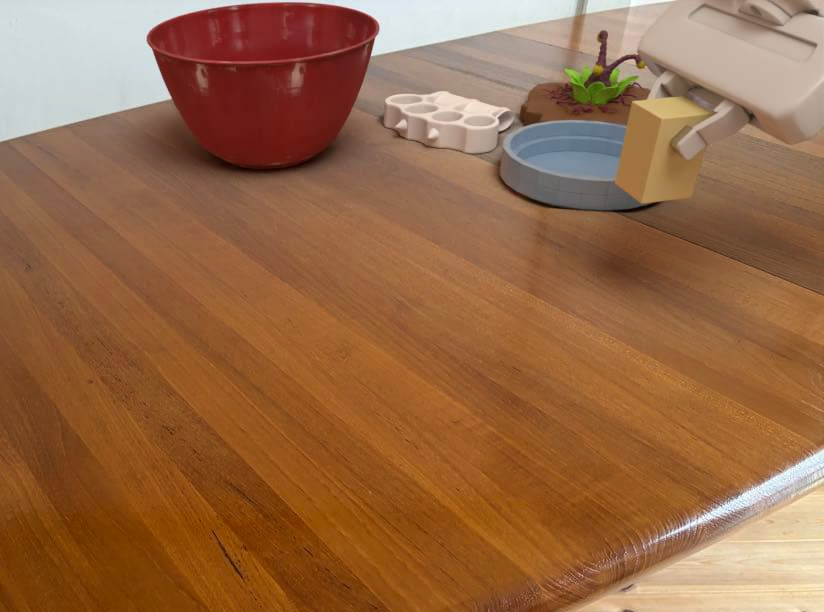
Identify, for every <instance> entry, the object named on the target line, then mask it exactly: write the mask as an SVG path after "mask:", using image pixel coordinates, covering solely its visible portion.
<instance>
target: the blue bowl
mask: <svg viewBox="0 0 824 612" xmlns="http://www.w3.org/2000/svg"><path fill="white" fill-rule="evenodd" d="M626 128H627V126H625V125H620V124H615V123H607V122H599V121H585V120H561V121H549V122H542V123H535V124H531V125H528V126H521V127H519V128H517V129H515V130H513V131H511V132H509V133H508V134H507V136H506V137H505V138H504V140H503V143H502V150H501V157H500V162H499V163H500V165H499V176H500V177H501V179H502V181H503V182H504V183H505V185H507V186H508V187H510V188H511V189H512V190H513V191H515V192H517V193H519V194H521V195H522V196H524V197H526V198H528V199H530V200H533V201H536V202H538V203H541V204H544V205H547V206H552V207H556V208H561V209H567V210H572V211H585V212H587V211H589V212H619V211H626V210H633V209H636V208H640V207H645V206H649V205H651V204H653V203H654V202H652V203H644V204H641V203H640V202H639V201H637V200H636V199H635V198H633V197H632V196H631V195H629V194H628V193H627V192H626V191H624V190H623V189H622V188H620V187H619V186H618V185H616V184H615V179H616V175H617V170H618V165H619V161H620V156H621V151H622V147H623V142H624V137H625V133H626Z"/></svg>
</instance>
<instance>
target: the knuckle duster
mask: <svg viewBox="0 0 824 612" xmlns="http://www.w3.org/2000/svg"><path fill="white" fill-rule="evenodd" d="M383 105H384V107H383V108H384V109H383V126H384V127H385V128H386V129H392V130H394V131H396V132H397V133H399V134H398V135H399V136H400V137H402V138H404V139H406V140H409V141H414V142H419V143H421V144H423V145H424V146H425V147H431V148H435V149H436V148H437V149H449V150H455V151H458V152H459V151H460V152H462V153H464V154H469V155H470V154H471V155H473V154H474V155H476V154H477V155H478V154H486V153H489V152H492V151H493V150H495V149H496V147H497V145H498V137H499V133H500V132H502V131H505V130H506V129H508V128H509V127H510V126H511V125H512V124H513V122H514V120H515V112H514V111H513V110H511V109H510V108H509V107H505V106H501V107H500V106H496V105H492V104H489V103H485V102H482V101H480V100H478V99H476V98H467V97H464V96H460V95H456V94H453V93H450V92H449V91H447V90H441V91H440V90H439V91H435V92H431V93H430V94H417V93H416V94H415V93H399V94H393V95H390V96H387V98H386V99H384V104H383Z"/></svg>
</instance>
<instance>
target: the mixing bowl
mask: <svg viewBox="0 0 824 612" xmlns="http://www.w3.org/2000/svg"><path fill="white" fill-rule="evenodd" d="M380 29H381V28H380V23H379V22H378V21H377V19H376V18H374V17H373V16H372V15H370V14H368V13H366V12H363V11H360V10H358V9H355V8H350V7H347V6H342V5H336V4H327V3H319V2H308V1H307V2H303V1H273V2H256V3H255V2H254V3H253V2H252V3H243V4H234V5H226V6H217V7H211V8H207V9H202V10H196V11H193V12H188V13H184V14H180V15H177V16H174V17H172V18H169V19H167V20H164V21H162V22H161V23H158V24H157V25H155V26H153V27H152V28H151V29H150V30H149V32H148V33H147V35H146V43H147V45H148V46H149V47H150V49H151V50H152V53H153V56H154V59H155V61H156V64H157V68H158V70H159V72H160V75H161V78H162V81H163V82H164V85H165V87H166V89H167V91H168V94H169V96H170V98H171V100H172V102H173V103H174V106H175V108H176V109H177V111H178V113H179V114H180V117H181V119H182V120H183V121H184V123H185V125H186V126H187V127H188V129H189V131H190V132H191V134H192V136H194V138H195V139H196V141H197V142H198V143H199V144H200V146H201V147H203V148H204V149H205V150H206V151H208V152H209V153H211V154H212V155H214V156H216V157H217V158H219V159H222V160H223V161H224V162H226V163H229V164H230V165H233V166H236V167H239V168H245V169H246V168H247V169H257V170H258V169H259V170H270V169H282V168H288V167H293V166H296V165H299V164H300V165H301V164H303V163H305V162H308V161H310V160H311V159H313V158H314V157H316V155H317V154H320V153H321V152H322V151H324V150H325V149H327V148H328V146H330V145H331V144H332V143H333V142H334V141H335V140H336V138H338V136H339V134H340V133H341V131H342V129H343V127H344V125H345V124H346V121H348V119H349V116H350V114H351V112H352V110H353V108H354V105H355V104H356V101H357V99H358V96H359V94H360V91H361V88H362V86H363V83H364V80H365V77H366V74H367V72H368V71H367V70H368V67H369V64H370V60H371V57H372V53H373V49H374V45H375V41H376V37H377V36H378V35H379V33H380Z"/></svg>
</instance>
